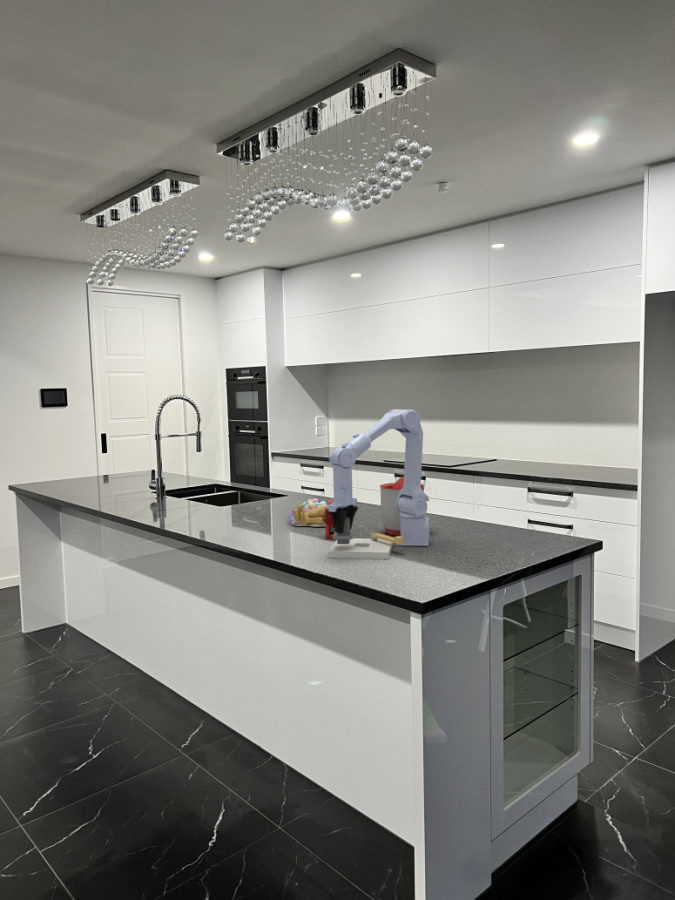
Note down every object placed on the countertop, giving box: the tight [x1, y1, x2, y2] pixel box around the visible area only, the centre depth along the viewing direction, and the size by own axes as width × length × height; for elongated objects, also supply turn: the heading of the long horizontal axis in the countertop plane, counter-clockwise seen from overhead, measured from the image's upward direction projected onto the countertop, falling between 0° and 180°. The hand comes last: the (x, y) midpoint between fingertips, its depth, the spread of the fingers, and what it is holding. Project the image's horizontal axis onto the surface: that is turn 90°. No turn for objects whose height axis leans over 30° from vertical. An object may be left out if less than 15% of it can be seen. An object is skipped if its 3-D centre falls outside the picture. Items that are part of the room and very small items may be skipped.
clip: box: [370, 532, 404, 546], centre depth 211 cm, size 2×15×3 cm, turn 33°
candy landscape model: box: [286, 497, 334, 528], centre depth 259 cm, size 25×24×9 cm
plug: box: [333, 517, 356, 544], centre depth 206 cm, size 6×6×8 cm
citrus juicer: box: [379, 476, 431, 537], centre depth 234 cm, size 16×17×20 cm
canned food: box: [324, 505, 337, 541], centre depth 230 cm, size 8×8×11 cm
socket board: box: [328, 537, 394, 560], centre depth 210 cm, size 18×18×2 cm
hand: (343, 531), depth 206 cm, fingers closed on plug, 5 cm apart
